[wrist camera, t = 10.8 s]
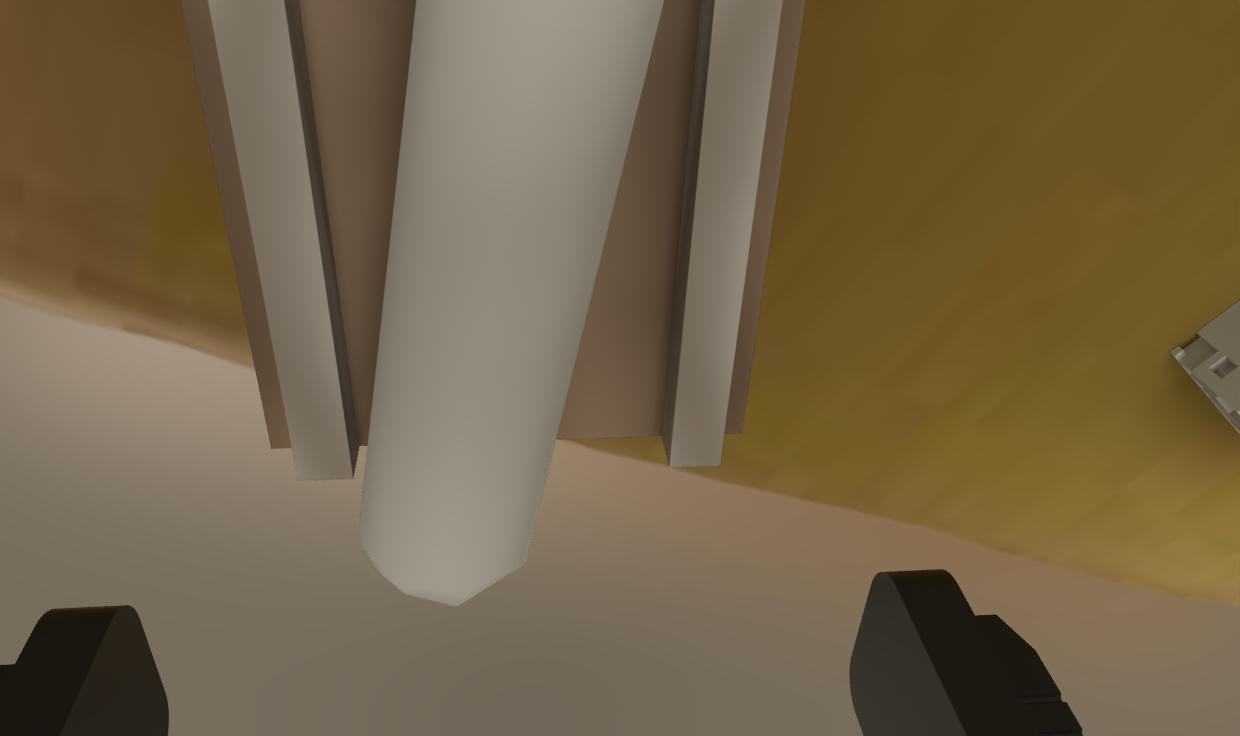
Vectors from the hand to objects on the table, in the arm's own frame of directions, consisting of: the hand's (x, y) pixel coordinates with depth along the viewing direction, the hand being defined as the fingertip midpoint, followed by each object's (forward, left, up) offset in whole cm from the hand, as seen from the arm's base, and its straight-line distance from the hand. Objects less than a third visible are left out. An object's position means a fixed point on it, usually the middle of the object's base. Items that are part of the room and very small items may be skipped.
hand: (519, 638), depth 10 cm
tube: (0, 0, -15) cm, 15 cm away
